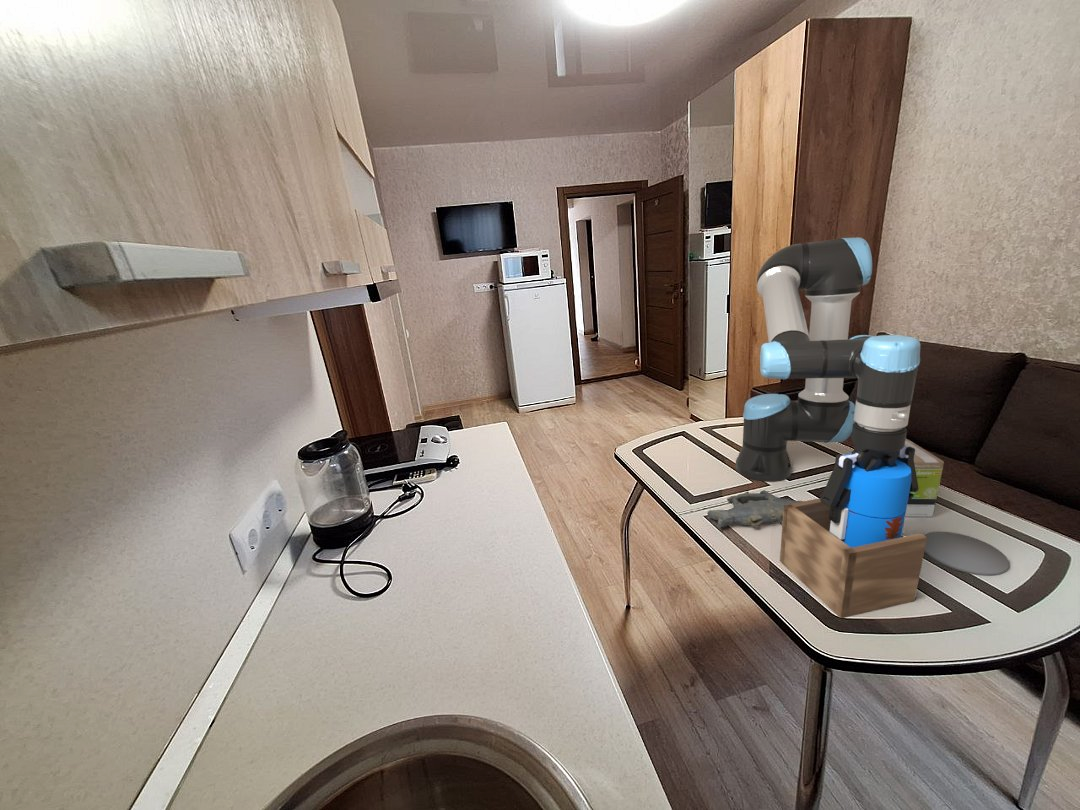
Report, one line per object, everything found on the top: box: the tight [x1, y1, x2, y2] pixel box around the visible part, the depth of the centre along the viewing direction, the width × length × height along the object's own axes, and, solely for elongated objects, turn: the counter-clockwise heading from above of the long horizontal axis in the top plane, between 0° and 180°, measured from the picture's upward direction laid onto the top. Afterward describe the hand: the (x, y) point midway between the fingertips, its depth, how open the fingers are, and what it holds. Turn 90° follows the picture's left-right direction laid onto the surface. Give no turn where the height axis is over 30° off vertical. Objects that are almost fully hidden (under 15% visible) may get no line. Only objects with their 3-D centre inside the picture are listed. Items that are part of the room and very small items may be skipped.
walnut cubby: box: [779, 497, 927, 619], centre depth 81 cm, size 16×15×14 cm
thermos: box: [829, 452, 911, 548], centre depth 80 cm, size 11×11×25 cm
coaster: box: [923, 531, 1010, 577], centre depth 86 cm, size 13×13×1 cm
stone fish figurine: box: [706, 490, 803, 528], centre depth 107 cm, size 5×25×15 cm
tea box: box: [905, 438, 945, 518], centre depth 104 cm, size 15×10×15 cm, turn 169°
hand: (864, 529), depth 80 cm, fingers closed on thermos, 11 cm apart
